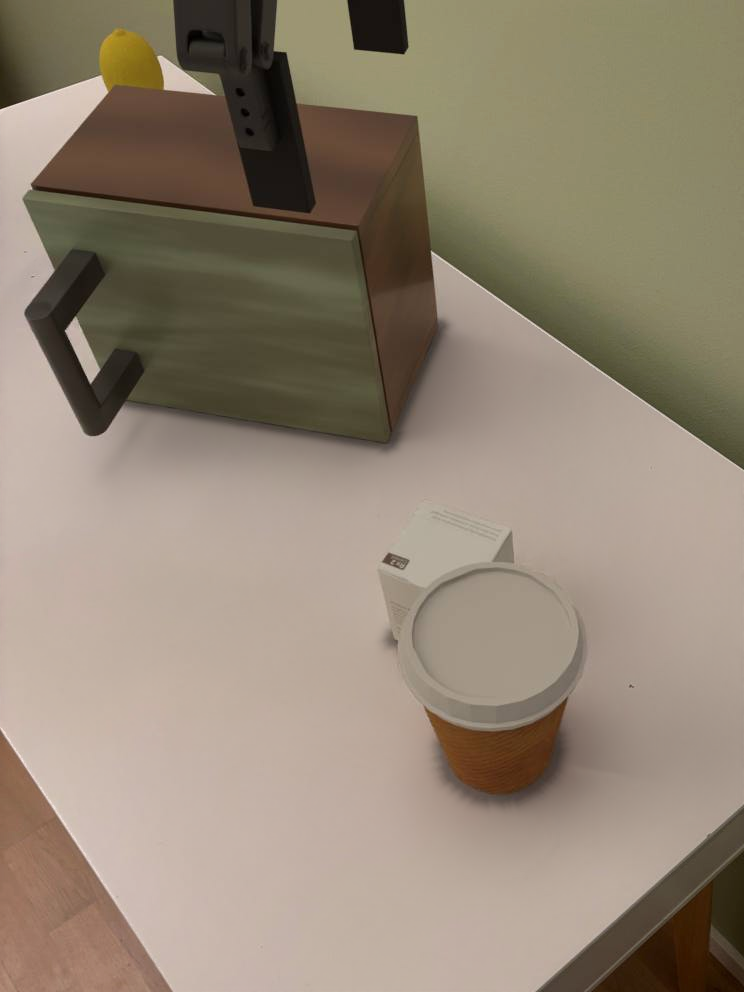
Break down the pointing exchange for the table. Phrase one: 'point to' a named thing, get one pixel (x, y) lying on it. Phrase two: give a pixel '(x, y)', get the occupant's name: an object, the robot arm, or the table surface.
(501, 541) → the white cardboard box
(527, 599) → the disposable coffee cup
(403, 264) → the cupboard
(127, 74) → the lemon
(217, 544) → the table surface
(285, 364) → the cupboard door
